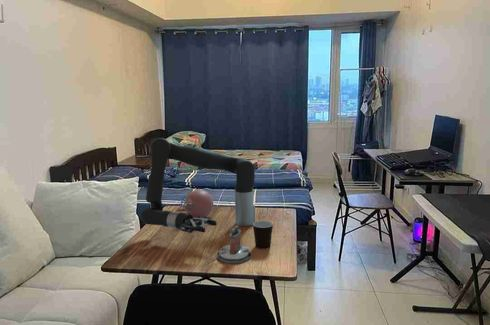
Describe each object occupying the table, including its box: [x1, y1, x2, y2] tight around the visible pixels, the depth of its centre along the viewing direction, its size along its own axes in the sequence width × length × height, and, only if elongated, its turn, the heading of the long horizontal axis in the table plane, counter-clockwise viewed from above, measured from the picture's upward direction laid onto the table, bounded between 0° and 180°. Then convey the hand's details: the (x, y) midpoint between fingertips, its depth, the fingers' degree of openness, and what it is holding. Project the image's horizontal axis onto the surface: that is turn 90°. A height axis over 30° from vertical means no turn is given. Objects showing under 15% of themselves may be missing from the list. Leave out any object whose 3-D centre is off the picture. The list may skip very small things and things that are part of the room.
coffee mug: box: [252, 220, 274, 250], centre depth 164 cm, size 12×9×10 cm
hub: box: [216, 244, 252, 265], centre depth 153 cm, size 14×14×3 cm
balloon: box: [181, 189, 214, 218], centre depth 199 cm, size 15×20×15 cm
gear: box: [180, 194, 187, 206], centre depth 221 cm, size 11×6×10 cm
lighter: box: [229, 225, 242, 255], centre depth 152 cm, size 8×3×10 cm, turn 161°
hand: (210, 226), depth 157 cm, fingers open, 8 cm apart
